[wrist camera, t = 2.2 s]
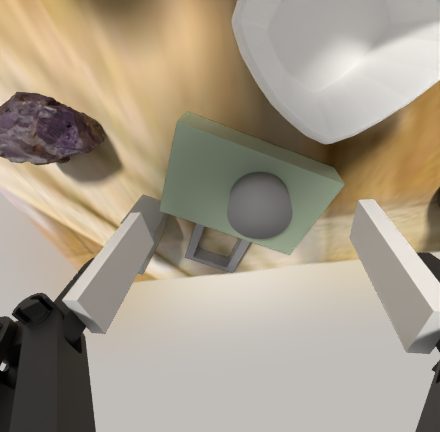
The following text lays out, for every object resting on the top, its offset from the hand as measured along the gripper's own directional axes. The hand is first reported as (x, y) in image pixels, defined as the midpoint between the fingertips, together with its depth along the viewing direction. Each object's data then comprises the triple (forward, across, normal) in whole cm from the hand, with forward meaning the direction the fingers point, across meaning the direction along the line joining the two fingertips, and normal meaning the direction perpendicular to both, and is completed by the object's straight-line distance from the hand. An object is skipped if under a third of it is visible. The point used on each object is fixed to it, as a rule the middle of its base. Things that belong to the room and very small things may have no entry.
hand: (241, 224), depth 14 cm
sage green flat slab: (+21, -4, -13) cm, 25 cm away
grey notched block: (+21, -19, -13) cm, 31 cm away
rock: (+21, -27, +4) cm, 34 cm away
